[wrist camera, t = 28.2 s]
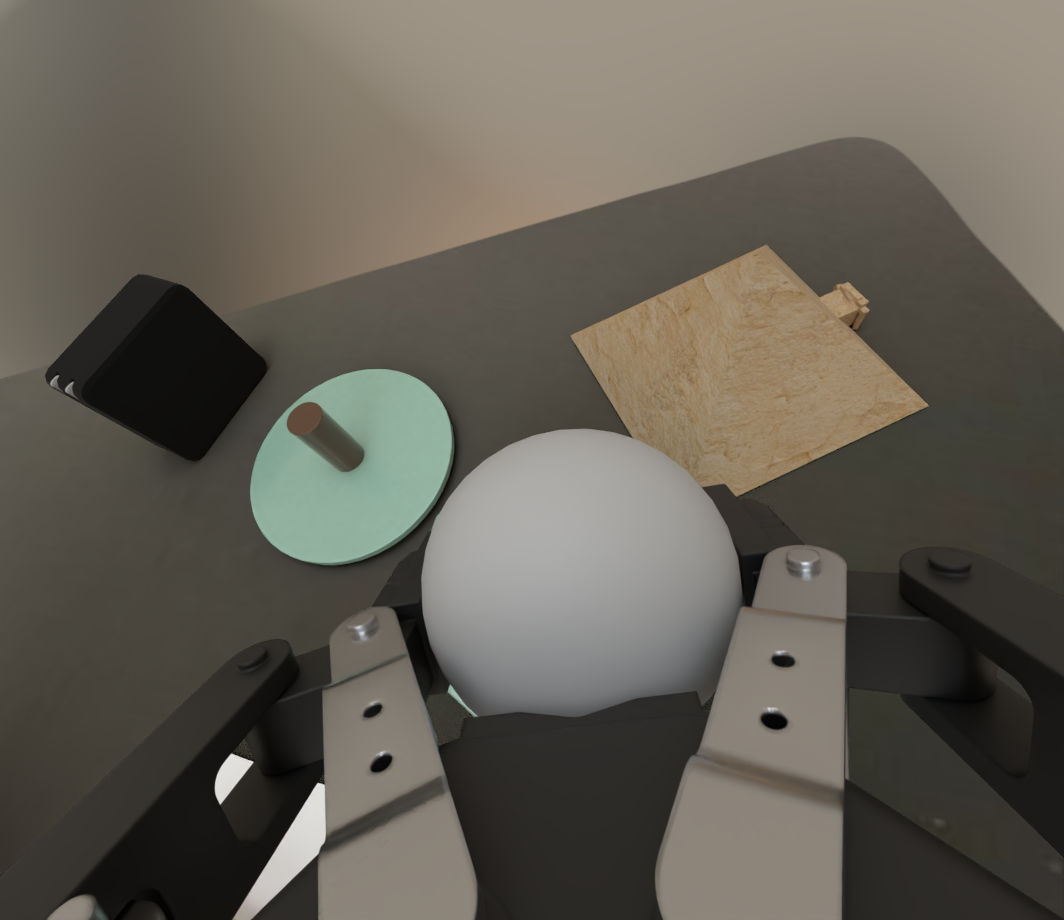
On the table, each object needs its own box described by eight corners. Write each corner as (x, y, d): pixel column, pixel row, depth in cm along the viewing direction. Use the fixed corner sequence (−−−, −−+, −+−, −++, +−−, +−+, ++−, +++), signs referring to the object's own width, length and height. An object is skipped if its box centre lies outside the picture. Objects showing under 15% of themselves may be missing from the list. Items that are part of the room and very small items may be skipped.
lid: (414, 590, 32) (363, 562, 27) (224, 543, 37) (145, 511, 31) (483, 388, 38) (454, 329, 33) (313, 368, 43) (261, 313, 37)
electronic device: (271, 366, 44) (178, 278, 35) (197, 465, 40) (74, 396, 32) (237, 354, 45) (140, 268, 36) (163, 449, 42) (36, 379, 33)
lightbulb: (498, 722, 17) (305, 727, 7) (527, 541, 19) (416, 361, 10) (695, 758, 15) (796, 828, 6) (698, 558, 18) (770, 366, 8)
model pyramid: (937, 402, 31) (1053, 280, 23) (683, 521, 31) (700, 446, 22) (774, 242, 39) (812, 106, 30) (570, 336, 39) (549, 226, 30)
